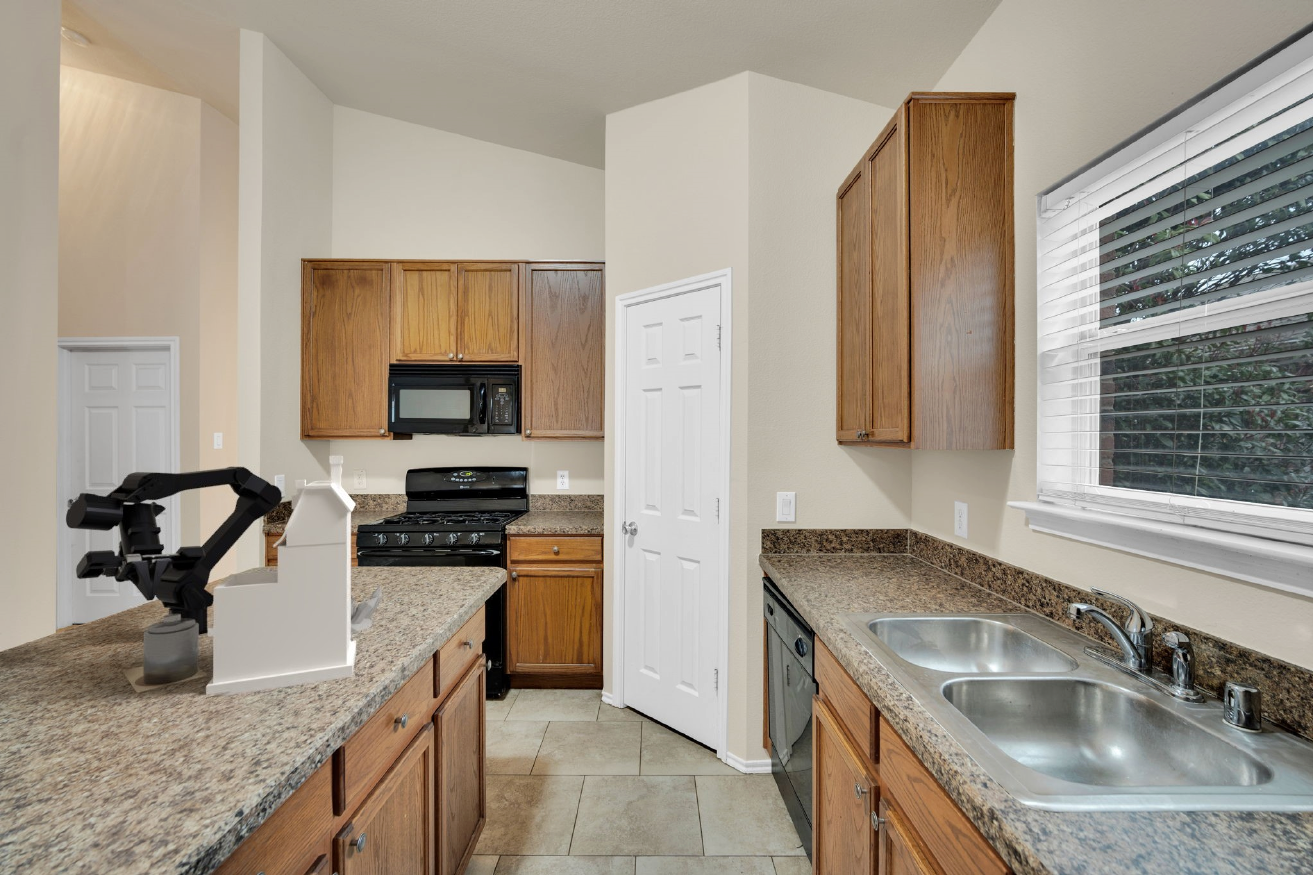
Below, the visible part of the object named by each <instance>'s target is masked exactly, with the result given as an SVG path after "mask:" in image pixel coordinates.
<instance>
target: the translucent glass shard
mask: <svg viewBox="0 0 1313 875" xmlns="http://www.w3.org/2000/svg"><path fill="white" fill-rule="evenodd" d="M382 591H383V590H382V586H381V584H380V585H379V586H378V587H377V588H376V589H375V591H373V592H372V593H371V596H370V599H368V600H367V599H366V597H365V598H364V599H362V601H361V602H360V603H359V604H358V605H357V604H355V603H356V599H353V600H351V633H354V632H360V631H365V630H367V629H369V628H371V627H372V626H373V624H374V622H373V620H372V619H371V617H373V615H374V613H375V611H376V609H377V608H378V606H379V605H380V604H381V600H382V599H383V592H382Z"/></svg>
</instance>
